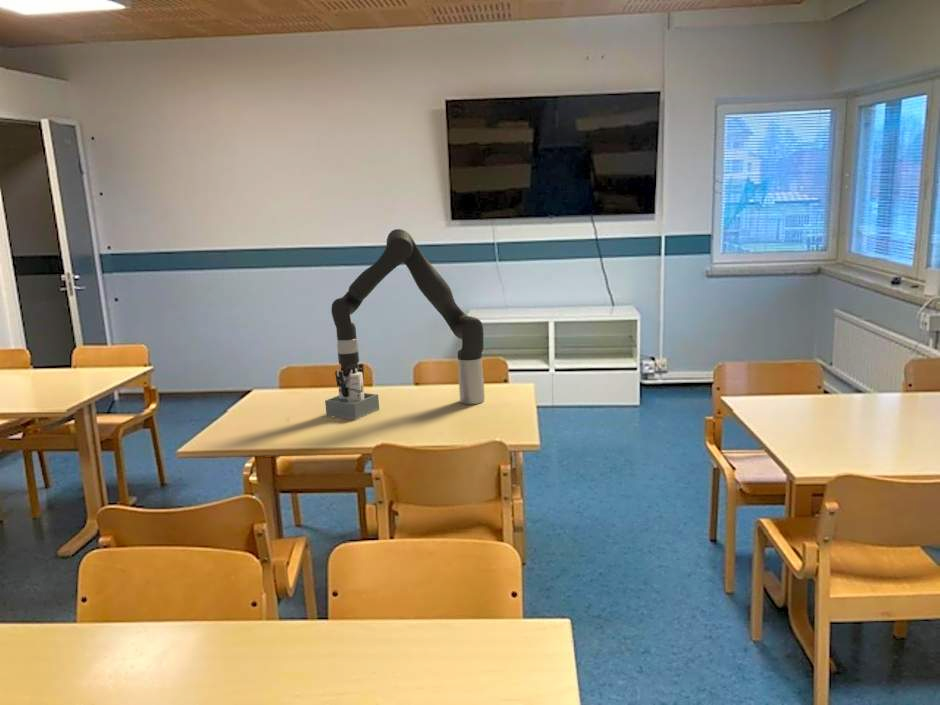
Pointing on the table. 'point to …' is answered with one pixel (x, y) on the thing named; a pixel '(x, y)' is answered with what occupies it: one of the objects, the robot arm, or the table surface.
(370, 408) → the grey bin
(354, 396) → the ink box
